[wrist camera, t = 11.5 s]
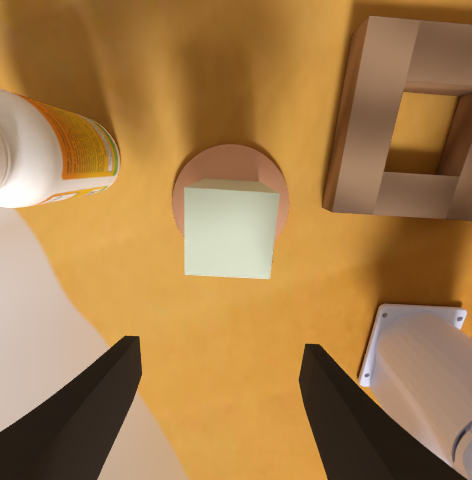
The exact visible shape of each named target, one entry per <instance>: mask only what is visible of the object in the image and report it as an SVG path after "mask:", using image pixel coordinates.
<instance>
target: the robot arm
mask: <svg viewBox="0 0 472 480" xmlns="http://www.w3.org/2000/svg"><path fill="white" fill-rule="evenodd" d="M384 313H385V314H384ZM383 314H384V315H383ZM466 315H467V311H466V310H465V309H463V308H461V307H443V306H423V305H403V304H382V305H381V306H380V307H379V309H378V312H377V316H376V319H375V323H374V326H373V330H372V333H371V337H370V340H369V344H368V347H367V351H366V354H365V358H364V361H363V365H362V368H361V372H360V375H359V379H358V382H359V384H360V385H361V386H365V387H370V389H371V390H372V392H373V393H374V395H375V397H376V398H377V400H378V401H379V403H380V405H381V406H382V408H383V410H382V409H381V408H380V407H379V406H378V405H377V404H376V403H375V402H374V401H373V400H372V399H371V398H370V397H369V396H368V395H367V394H366V393H365V392H364V391H363V390H362V389H361V388H360V387H359V386H358V385H357V384H356V383H355V382H354V381H353V380H352V379H351V378H350V377H349V376H348V375H347V374H346V373H345V372H344V371H343V369H342V368H341V367H340V366H339V365H338V364H337V363H336V362H335V361H334V360H333V359H332V357H331V356H330V355H329V354H328V353H327V352H326V351H325V350H324V349H323V348H322V347H321V346H320V345H319V344H305V349H304V355H303V360H302V365H301V371H300V376H299V384H300V389H301V394H302V398H303V403H304V407H305V410H306V413H307V416H308V420H309V423H310V426H311V429H312V432H313V435H314V438H315V441H316V444H317V447H318V450H319V453H320V456H321V459H322V463H323V466H324V469H325V472H326V475H327V478H328V480H472V338H471V337H469V336H468V335H466V334H465V333H464V332H462V331H461V330H460V329H461V327H462V324H463V322H464V320H465V317H466ZM141 376H142V366H141V353H140V340H139V336H124V337H123V338H122V339H121V340H119V341H118V342H117V343H116V344H115V345H113V346H112V347H111V348H110V349H109V350H108V351H107V352H105V353H104V354H103V355H102V356H101V357H100V358H98V359H97V360H96V361H95V362H94V363H93V364H91V365H90V366H89V367H88V368H87V369H85V370H84V371H83V372H82V373H81V374H79V375H78V376H77V377H76V378H74V379H73V380H72V381H71V382H69V383H68V384H67V385H65V386H64V387H63V388H62V389H60V390H59V391H58V392H57V393H55V394H54V395H53V396H51V397H50V398H49V399H47V400H46V401H45V402H43V403H42V404H41V405H39V406H38V407H36V408H35V409H34V410H32V411H31V412H29V413H28V414H26V415H25V416H23V417H22V418H21V419H19V420H18V421H16V422H15V423H13V424H12V425H10V426H9V427H7V428H6V429H4V430H3V431H1V432H0V480H97V479H98V476H99V474H100V472H101V469H102V467H103V465H104V463H105V461H106V458H107V456H108V454H109V452H110V450H111V448H112V445H113V443H114V441H115V439H116V437H117V435H118V432H119V430H120V428H121V426H122V424H123V421H124V419H125V417H126V415H127V413H128V411H129V408H130V406H131V404H132V402H133V399H134V396H135V394H136V391H137V388H138V385H139V382H140V379H141Z"/></svg>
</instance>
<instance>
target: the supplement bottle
mask: <svg viewBox="0 0 472 480" xmlns="http://www.w3.org/2000/svg"><path fill="white" fill-rule="evenodd" d="M119 169H120V155H119V150H118V147H117V145H116V143H115V141H114V139H113V138H112V136H111V135H110V134H109V132H108V131H107V130H106V129H105V128H104V127H103V126H101V125H100V124H99V123H97V122H95V121H94V120H92V119H90V118H87V117H85V116H82V115H79V114H76V113H72V112H69V111H66V110H63V109H60V108H57V107H54V106H51V105H48V104H45V103H42V102H39V101H36V100H33V99H30V98H27V97H24V96H21V95H18V94H15V93H12V92H9V91H6V90H2V89H0V207H6V208H18V207H27V206H33V205H38V204H43V203H48V202H53V201H59V200H64V199H69V198H74V197H79V196H84V195H90V194H94V193H98V192H101V191H103V190H105V189H107V188H108V187H110V186H111V185H112V184H113V182H114V181H115V180H116V178H117V176H118V173H119Z"/></svg>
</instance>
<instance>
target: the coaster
mask: <svg viewBox="0 0 472 480" xmlns="http://www.w3.org/2000/svg"><path fill="white" fill-rule="evenodd" d="M205 178H211V179H227V180H243V181H259V182H261V183H263V184H265V185H266V186H268V187H270V188H272V189H273V190H275V191H277V192H279V193H280V196H279V205H278V213H277V222H276V231H275V239H274V241H275V240H276V239H277V238H278V236H279V235H280V233H281V232H282V230H283V228H284V226H285V223H286V220H287V216H288V211H289V194H288V189H287V186H286V183H285V180H284V178H283V176H282V174H281V172H280V171H279V169H278V168H277V167H276V165H275V164H274V163H273V162H272V161H271V160H270V159H269V158H267V157H266V156H265V155H263V154H262V153H260V152H259V151H257V150H254V149H252V148H250V147H246V146H243V145H236V144H225V145H218V146H215V147H211V148H209V149H206V150H204V151H202V152H201V153H199V154H197V155H196V156H195V157H194V158H192V159H191V160H190V161H189V162H188V163H187V164H186V165H185V167H184V168H183V170H182V171H181V173H180V174H179V176H178V178H177V180H176V184H175V187H174V191H173V199H172V206H173V214H174V218H175V221H176V224H177V226H178V228H179V230H180V232H181V234H182V235H183V237H184V238H185V231H184V187H186V186H189V185H191V184H193V183H196V182H198V181H200V180H203V179H205Z"/></svg>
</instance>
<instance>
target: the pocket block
mask: <svg viewBox="0 0 472 480" xmlns="http://www.w3.org/2000/svg"><path fill="white" fill-rule="evenodd" d="M403 92H412V93H425V94H438V95H451V96H460V100H459V103H458V106H457V109H456V113H455V116H454V119H453V122H452V125H451V129H450V132H449V135H448V138H447V142H446V145H445V148H444V151H443V154H442V158H441V161H440V164H439V167H438V171H437V174H436V175H427V174H412V173H397V172H384V168H385V164H386V159H387V155H388V151H389V147H390V143H391V139H392V135H393V131H394V127H395V122H396V118H397V114H398V110H399V106H400V102H401V98H402V94H403ZM322 208H324V209H326V210H328V211H331V212H337V213H353V214H370V215H386V216H402V217H419V218H435V219H452V220H468V221H472V24H460V23H449V22H437V21H425V20H414V19H402V18H391V17H379V16H369V17H368V18H367V19H366V20H365V21H364V22H363V23H362V24H361V26H360V27H359V28H358V29H357V30H356V31H355V32H354V33H353V34H352V39H351V45H350V51H349V56H348V62H347V68H346V74H345V79H344V85H343V91H342V96H341V102H340V108H339V114H338V119H337V125H336V131H335V136H334V142H333V148H332V154H331V159H330V165H329V171H328V176H327V182H326V188H325V194H324V199H323V205H322Z"/></svg>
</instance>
